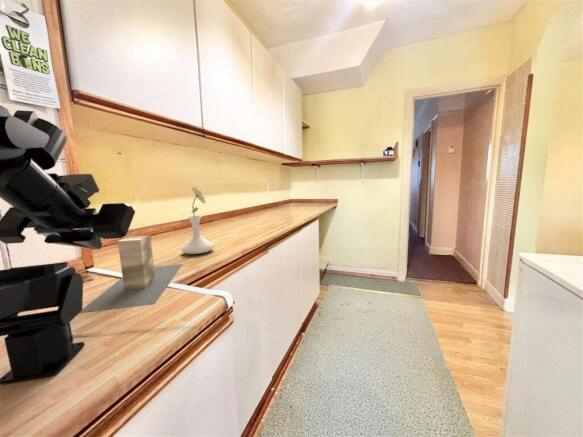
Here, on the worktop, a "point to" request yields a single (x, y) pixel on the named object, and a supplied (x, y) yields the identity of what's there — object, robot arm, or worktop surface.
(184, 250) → the flower in vase
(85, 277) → the shard
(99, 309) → the rubber mat
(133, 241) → the birch block
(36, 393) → the worktop surface
